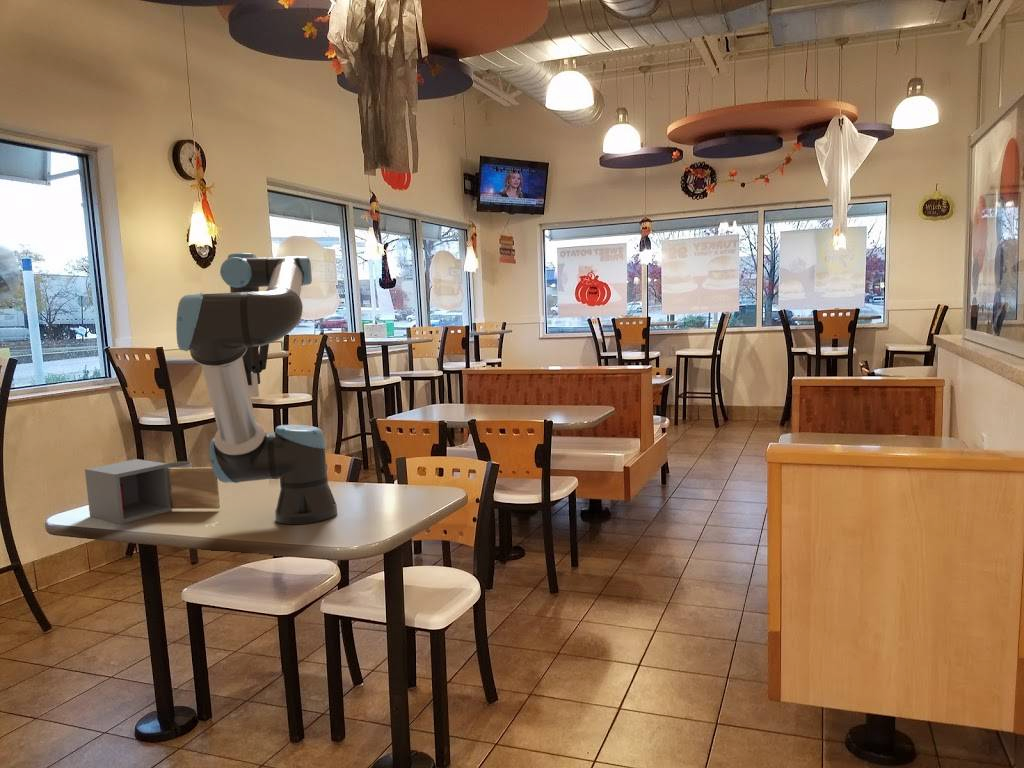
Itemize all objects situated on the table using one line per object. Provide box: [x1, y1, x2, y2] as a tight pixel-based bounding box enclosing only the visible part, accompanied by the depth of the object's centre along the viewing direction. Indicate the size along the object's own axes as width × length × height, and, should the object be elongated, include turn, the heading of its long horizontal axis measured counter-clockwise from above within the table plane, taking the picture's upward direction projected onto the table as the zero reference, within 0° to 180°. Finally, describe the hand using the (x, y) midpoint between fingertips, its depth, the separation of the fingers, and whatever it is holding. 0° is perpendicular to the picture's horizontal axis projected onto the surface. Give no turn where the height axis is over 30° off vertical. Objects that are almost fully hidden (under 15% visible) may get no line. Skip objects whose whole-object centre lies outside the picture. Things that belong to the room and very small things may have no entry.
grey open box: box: [84, 458, 173, 525], centre depth 197 cm, size 16×14×13 cm
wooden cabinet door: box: [167, 466, 221, 510], centre depth 197 cm, size 2×14×11 cm, turn 80°
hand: (253, 396), depth 202 cm, fingers closed
